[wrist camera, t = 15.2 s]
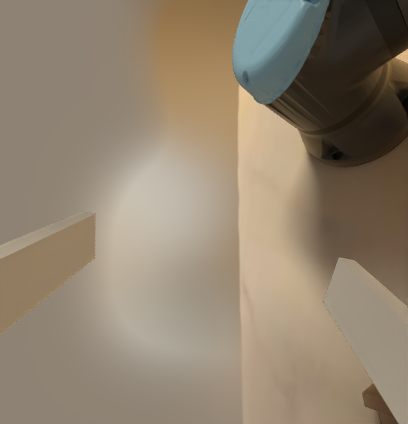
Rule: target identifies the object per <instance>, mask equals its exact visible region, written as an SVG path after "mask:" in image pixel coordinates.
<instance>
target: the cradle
mask: <svg viewBox="0 0 408 424" xmlns="http://www.w3.org/2000/svg"><path fill="white" fill-rule="evenodd" d="M362 394H363V399H364V404H365V407H368V408H371V409H374V410H377V411H379V416H380V421H381V424H399V423H398V422H397V420H396V419H395V417H394V415H393V414H392V412H391V411H390V409H389V407H388V406H387V404H386V403H385V401H384V399H383V398H382V396H381V394H380V393H379V391H378V390H377V388H376V386H375V385H374V383H373V384H372V385H371V386H370V387H369V388H368V389H366V390H365V391H364V392H363V393H362Z"/></svg>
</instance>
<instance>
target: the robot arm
mask: <svg viewBox="0 0 408 424" xmlns="http://www.w3.org/2000/svg"><path fill="white" fill-rule="evenodd" d="M406 49H408V0H249V1H248V3H247V5H246V7H245V9H244V12H243V14H242V17H241V20H240V22H239V26H238V30H237V33H236V36H235V40H234V46H233V55H232V64H233V71H234V74H235V77H236V79H237V81H238V82H239V84H240V85H241V86H242V87H243V88H244V89H245V90H246V91H247V92H249V93H250V94H251V95H252V96H253V97H254V99H255V100H256V101H257V102H258V103H260V104H263V105H265V106H266V107H268V108H269V109H270V110H272V111H273V112H274V113H276V114H277V115H279V116H280V117H281V118H283V119H284V120H286V121H287V122H288V123H290V124H291V125H292V126H294V127H295V128H297V129H298V130H299V133H300V135H301V138H302V140H303V142H304V145H305V147H306V148H307V150H308V151H309V152H310V153H311V154H312V155H313V156H314V157H316V158H317V159H319V160H320V161H322V162H324V163H326V164H329V165H332V166H338V167H349V166H356V165H360V164H364V163H367V162H370V161H372V160H375V159H377V158H379V157H381V156H383V155H384V154H386V153H388V152H389V151H391V150H392V149H393V148H395V147H396V146H397V145H399V144H400V143H401V142H402V141H403V140H404V139H405V138H406V137H407V136H408V64H407V63H405V62H403V61H401V60H399V59H397V58H394V57H396V56H397V55H399V54H400V53H402V52H403V51H405V50H406ZM93 259H95V213H89V212H83V211H82V212H79V213H77V214H74V215H72V216H70V217H68V218H65V219H63V220H61V221H58V222H55V223H53V224H51V225H48V226H46V227H43V228H41V229H39V230H36V231H34V232H31V233H29V234H27V235H24V236H22V237H20V238H17V239H15V240H12V241H10V242H8V243H5V244H3V245H0V335H1V334H2V333H3V332H4V331H6V330H7V329H8V328H9V327H11V326H12V325H13V324H14V323H15V322H17V321H18V320H19V319H20V318H22V317H23V316H24V315H25V314H27V313H28V312H29V311H30V310H32V309H33V308H34V307H35V306H36V305H38V304H39V303H40V302H42V301H43V300H44V299H45V298H47V297H48V296H49V295H50V294H51V293H52V292H54V291H55V290H56V289H58V288H59V287H60V286H61V285H63V284H64V283H65V282H66V281H67V280H69V279H70V278H71V277H72V276H74V275H75V274H76V273H77V272H79V271H80V270H81V269H82V268H84V267H85V266H86V265H87V264H88V263H90V262H91V261H92V260H93ZM323 303H324V305H325V306H326V308H327V309H328V311H329V313H330V314H331V316H332V317H333V319H334V321H335V322H336V324H337V325H338V327H339V329H340V330H341V332H342V333H343V335H344V337H345V338H346V340H347V342H348V343H349V345H350V346H351V348H352V350H353V351H354V353H355V354H356V356H357V358H358V359H359V361H360V362H361V364H362V366H363V367H364V369H365V370H366V372H367V374H368V375H369V377H370V378H371V380H372V382H373V383H374V385H375V386H376V388H377V390H378V391H379V393H380V394H381V396H382V398H383V399H384V401H385V403H386V404H387V406H388V407H389V409H390V411H391V412H392V414H393V415H394V417H395V419H396V420H397V422H398V423H399V424H408V306H406V305H405V304H404V303H403V302H402V301H401V300H399V299H398V298H397V297H396V296H395V295H394V294H393V293H391V292H390V291H389V290H388V289H387V288H386V287H385V286H383V285H382V284H381V283H380V282H379V281H378V280H377V279H375V278H374V277H373V276H372V275H371V274H370V273H369V272H367V271H366V270H365V269H364V268H363V267H362V266H361V265H359V264H358V263H357V262H356V261H355V260H351V259H346V258H340V257H339V258H338V261H337V264H336V267H335V270H334V272H333V275H332V278H331V281H330V283H329V286H328V289H327V292H326V295H325V297H324V300H323Z"/></svg>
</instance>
